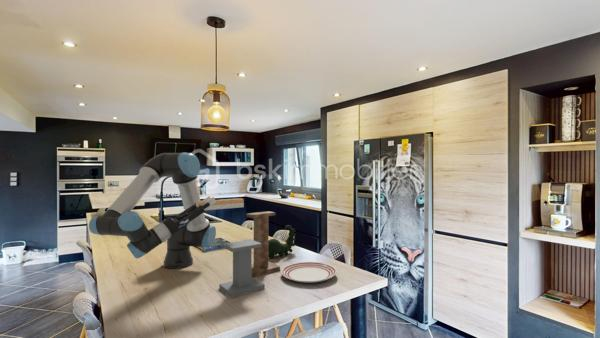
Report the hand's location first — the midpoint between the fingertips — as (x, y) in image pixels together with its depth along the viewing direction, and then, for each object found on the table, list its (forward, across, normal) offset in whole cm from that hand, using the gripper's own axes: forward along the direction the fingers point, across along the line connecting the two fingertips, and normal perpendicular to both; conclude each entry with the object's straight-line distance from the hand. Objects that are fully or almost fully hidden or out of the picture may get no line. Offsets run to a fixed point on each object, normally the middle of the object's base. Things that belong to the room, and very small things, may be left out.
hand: (212, 199), depth 143 cm
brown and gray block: (+1, 0, -6) cm, 6 cm away
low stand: (-13, +14, -38) cm, 42 cm away
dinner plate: (+16, +20, -55) cm, 61 cm away
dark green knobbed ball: (+23, -18, -59) cm, 66 cm away
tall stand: (+4, -2, -47) cm, 47 cm away
